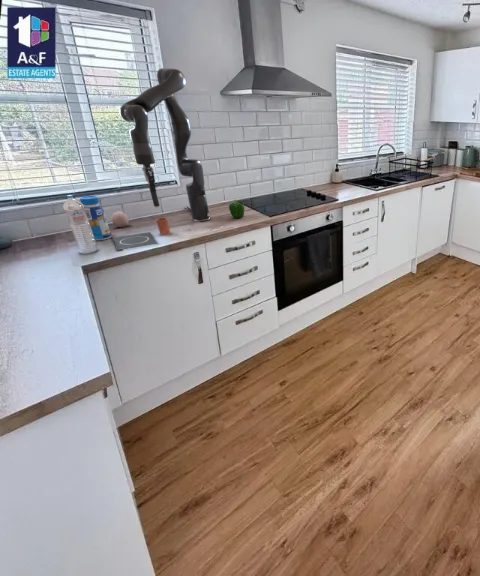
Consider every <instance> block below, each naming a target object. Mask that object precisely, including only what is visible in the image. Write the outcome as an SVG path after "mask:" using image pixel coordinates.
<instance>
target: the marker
mask: <svg viewBox="0 0 480 576" xmlns="http://www.w3.org/2000/svg"><path fill="white" fill-rule="evenodd" d="M147 181H148V180H146V182H147ZM147 185H148V189H149V192H150V197H151V200H152V204H153V207H154V208H157V209H158V208H160V205H161V204H160V202H159V196H158V194H157V190H156V191H154V192H152V191H151V190H150V186H149V183H148V182H147Z"/></svg>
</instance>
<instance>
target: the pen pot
mask: <svg viewBox="0 0 480 576" xmlns="http://www.w3.org/2000/svg"><path fill="white" fill-rule="evenodd" d="M156 224H157V228H158V232H159V235H160V236H167V235H170V234H171V227H170V225H169V221H168V218H167V217H159V218H156Z"/></svg>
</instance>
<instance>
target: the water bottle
mask: <svg viewBox="0 0 480 576" xmlns="http://www.w3.org/2000/svg"><path fill="white" fill-rule="evenodd" d="M66 197H67V199H66V200H65V202H64V203H63V205H62V208H63V210H64V212H65V215H66V218H67V222H68V224H69V227H70V231H71V233H72V235H73V238H74V241H75V244H76V247H77V249H78V251H79V254H82V255H88V254H89V255H90V254H94V253H97V252H98V251H99V248H98V247H99V246H98V244H97V240H95V238H94V235H93V232H92V229H91V226H90V223H89V221H88V218H87V215H86V212H85V209H84V205H83V204H82V203H81V201H80V200H78V199H76V198H74V196H73V194H68V195H66Z"/></svg>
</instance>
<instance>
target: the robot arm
mask: <svg viewBox="0 0 480 576" xmlns="http://www.w3.org/2000/svg"><path fill="white" fill-rule="evenodd" d="M156 79H157V83H158V84H156V85H154V86H152V87H149V88H147V89H145V90H143V91H142V92H141V93H140V94H139V95H138V96H137V97H136V98H132V99H131V100H128V101H127V102H124V103H123V104H122V105H121V106H120V108H119V115H120V117H121V118H122V120H124V121H126V122H129V123H134V127H133V128H130V129H129V130H128V132H129V133H128V134H129V136H130V137H129V138H130V140H131V145H132V146H131V147H132V151H133V154H134V159H135V163H136V164H137V165H141V166H142V168H141V171H142V172H143V176H144V178H145V181H146V182H147V184H148V183H149V185H148V187H149V186H150V189H149V191H150V190H151V191H152V192H154V191H156V192H157V187H156V184H155V183H156V179H155V172H154V168H153V167H152V166H151V165H154V164H156V160H155V159H156V158H155V155H154V152H153V151H154V150H153V148H152V147H153V146H152V144H151V142H150V136H149V133H148V132H149V129H148V128H149V114H148V113H151V112H152V111H153V110H155V109H156V107H157V106H158V105H160V104H161V103H162V102H163V101H164V106H165V109H166V112H167V117H168V123H169V127H170V131H171V135H172V140H173V143H174V149H175V155H176V162H177V169H178V172H179V174H180V175H181V176H182V177H187V178H189V177H190V178H192V180H191V182H188V183H186V184H185V190H186V194H187V199H188V203H189V204H188V205H189V207H188V206H186V207H187V208H185V207H184V210H189V212H190V213H191V220H192V221H194V222H206V221H208V220H211V216H210V211H209V204H208V200H207V193H206V189H205V177H204V176H205V175H204V169H203V164H202V163H201V161H200V160H198V159H194V158H188V154H187V147H188V145H189V142H190V139H191V137H192V127H191V124H190V120H189V117H188V116H187V114H186V113H185V111H184V110H183V108H182V107H181V106H180V104H179V102H178V100H177V98H176V95H175V94H176V93H178V92H180V91H181V90H183V89H185V86H186V76H185V75H184V73H183V71H181V70H180V69H177V68H168V67H167V68H166V67H165V68H163V67H161V68H159V69H157V72H156ZM147 180H148V181H147Z"/></svg>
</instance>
